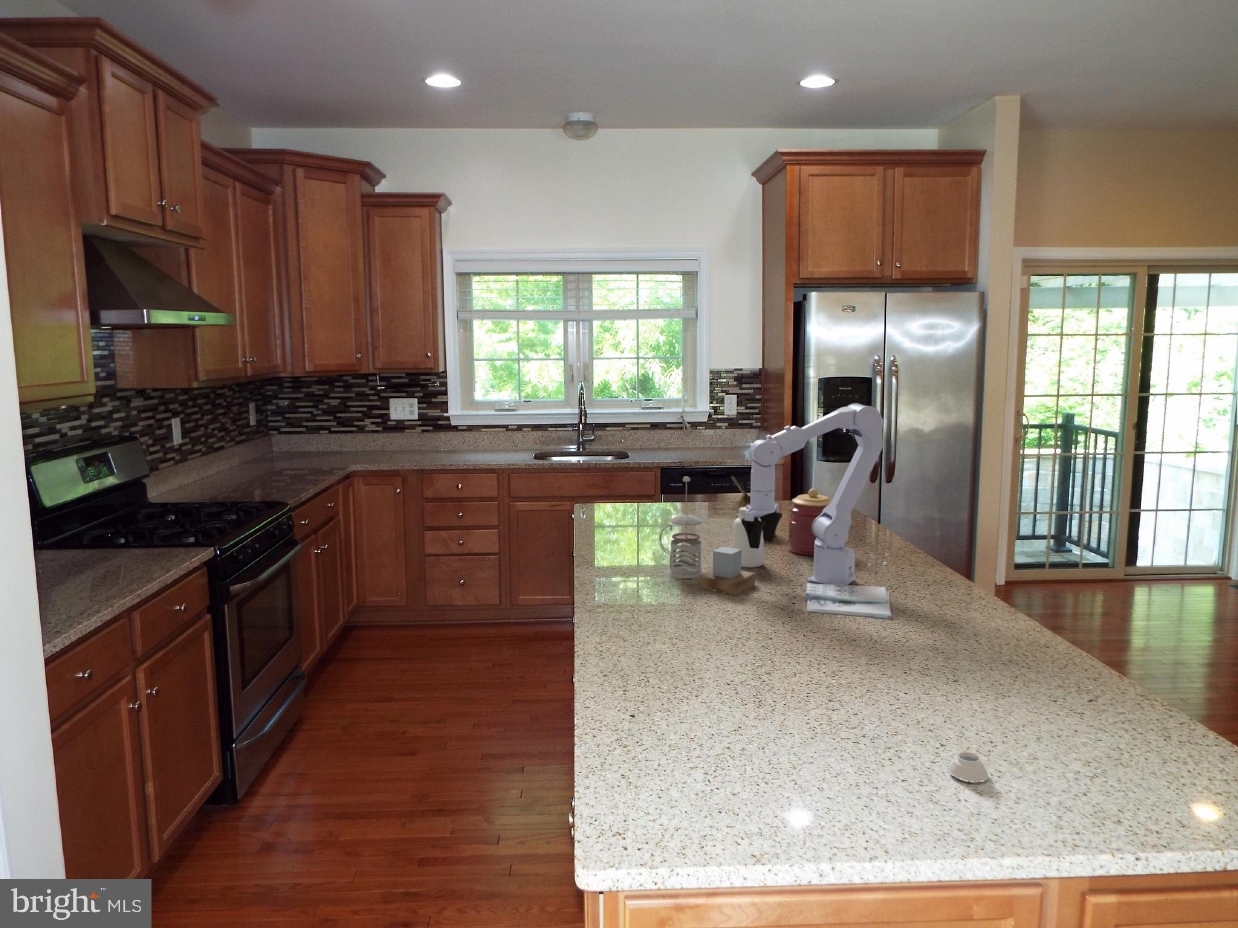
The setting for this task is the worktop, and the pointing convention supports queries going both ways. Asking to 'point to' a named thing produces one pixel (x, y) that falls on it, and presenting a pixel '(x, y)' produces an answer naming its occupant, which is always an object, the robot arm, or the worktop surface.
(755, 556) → the pill bottle
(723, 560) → the slate cube
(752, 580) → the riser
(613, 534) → the worktop surface
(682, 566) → the french press
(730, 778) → the worktop surface
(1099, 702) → the worktop surface
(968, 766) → the upturned beige bowl
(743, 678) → the worktop surface
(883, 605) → the white bicycle print cloth
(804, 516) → the canister
